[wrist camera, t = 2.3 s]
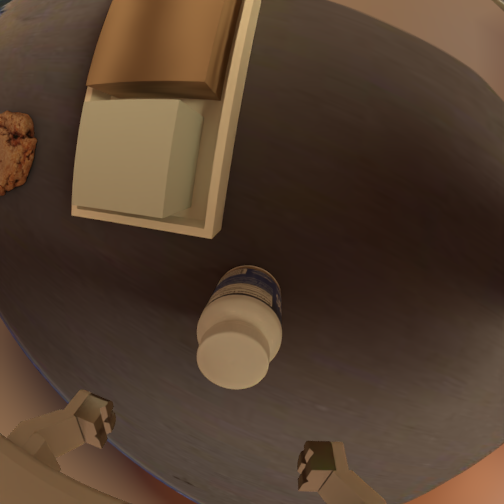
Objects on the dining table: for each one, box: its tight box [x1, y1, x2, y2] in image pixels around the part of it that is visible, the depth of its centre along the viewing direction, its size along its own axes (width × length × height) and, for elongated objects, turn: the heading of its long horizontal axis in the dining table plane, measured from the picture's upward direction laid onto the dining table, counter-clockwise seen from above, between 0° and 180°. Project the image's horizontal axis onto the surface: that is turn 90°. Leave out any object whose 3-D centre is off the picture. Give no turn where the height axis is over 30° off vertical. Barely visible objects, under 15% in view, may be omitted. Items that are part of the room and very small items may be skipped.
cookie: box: [0, 111, 37, 196], centre depth 22 cm, size 10×11×3 cm
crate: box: [71, 0, 261, 239], centre depth 19 cm, size 12×22×4 cm, turn 171°
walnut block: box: [86, 0, 242, 101], centre depth 17 cm, size 9×10×5 cm
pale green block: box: [72, 99, 204, 218], centre depth 19 cm, size 7×7×6 cm
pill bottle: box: [197, 265, 282, 389], centre depth 20 cm, size 5×5×10 cm
